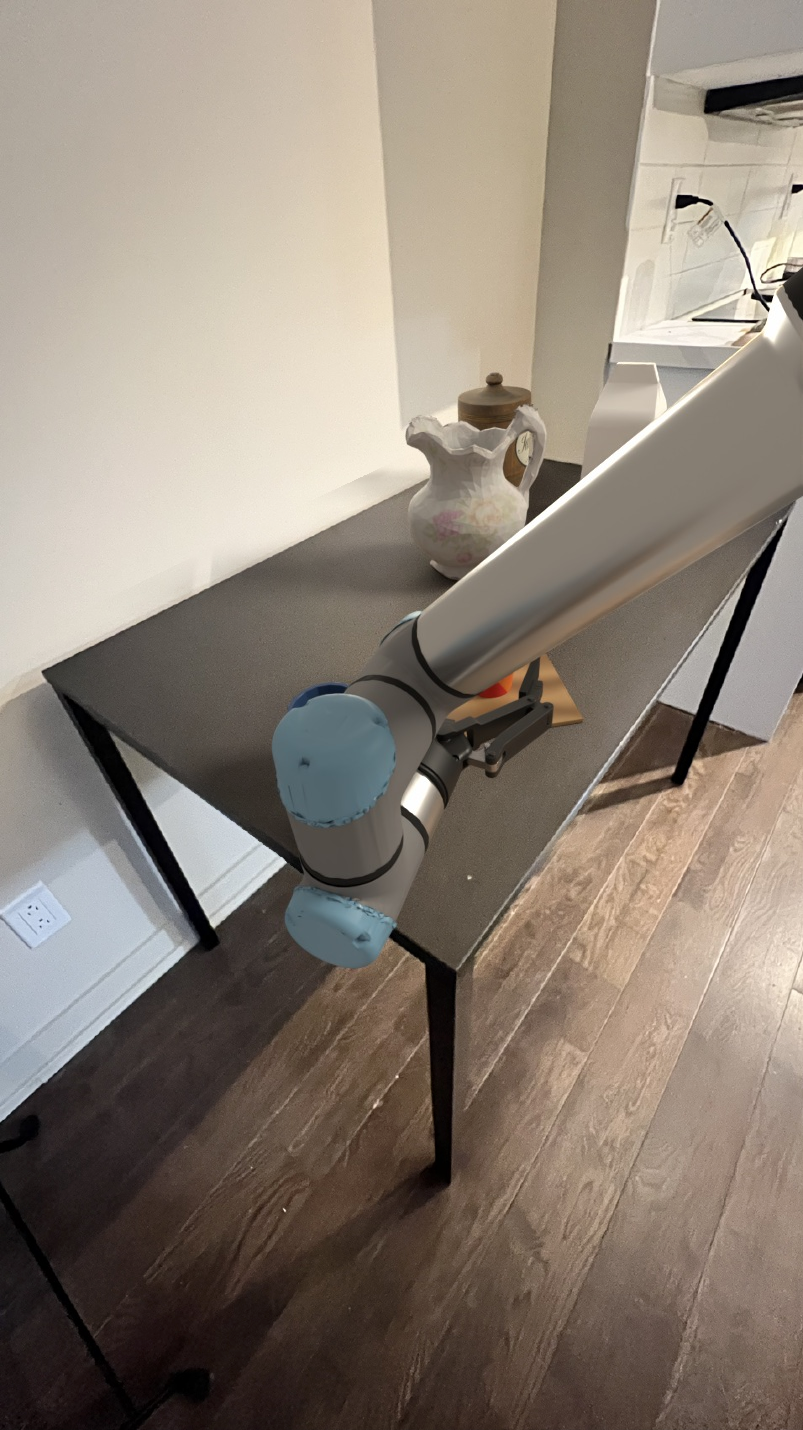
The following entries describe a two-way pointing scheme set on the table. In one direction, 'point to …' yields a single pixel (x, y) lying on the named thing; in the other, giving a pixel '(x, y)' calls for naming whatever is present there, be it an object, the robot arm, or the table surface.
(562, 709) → the wooden board
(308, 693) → the blue cup
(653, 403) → the milk
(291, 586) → the table surface
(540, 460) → the ceramic pitcher
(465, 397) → the wooden container
